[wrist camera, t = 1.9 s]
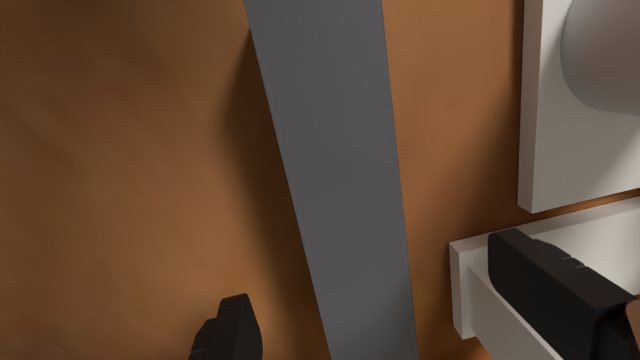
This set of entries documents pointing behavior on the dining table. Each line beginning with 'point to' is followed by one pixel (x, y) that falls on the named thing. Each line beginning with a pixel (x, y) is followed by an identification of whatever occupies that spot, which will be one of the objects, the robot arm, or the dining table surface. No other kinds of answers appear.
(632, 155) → the display stand
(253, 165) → the dining table surface
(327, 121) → the gray bar
